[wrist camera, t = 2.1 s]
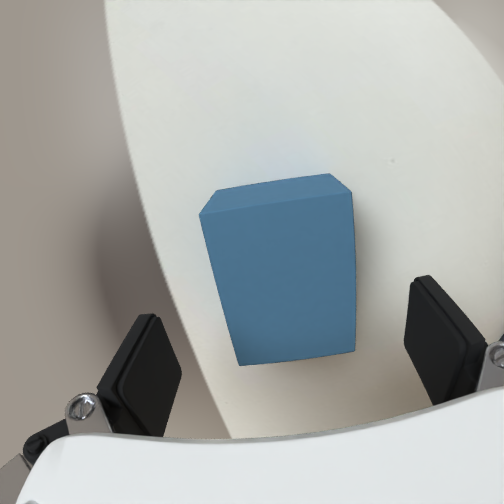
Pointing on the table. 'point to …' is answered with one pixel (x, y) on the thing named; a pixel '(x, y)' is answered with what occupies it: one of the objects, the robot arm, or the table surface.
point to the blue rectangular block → (284, 267)
